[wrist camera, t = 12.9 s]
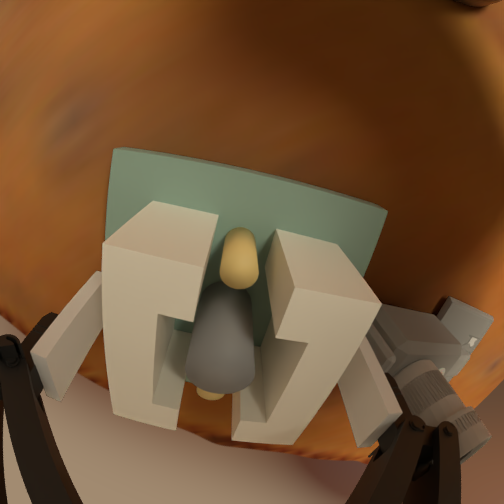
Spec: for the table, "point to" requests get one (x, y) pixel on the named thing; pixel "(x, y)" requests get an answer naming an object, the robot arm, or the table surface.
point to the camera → (432, 363)
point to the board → (236, 206)
